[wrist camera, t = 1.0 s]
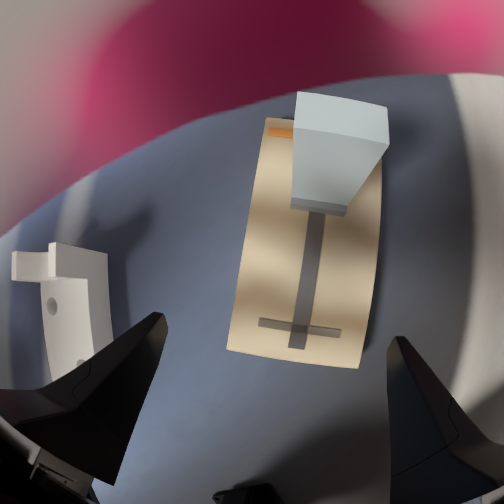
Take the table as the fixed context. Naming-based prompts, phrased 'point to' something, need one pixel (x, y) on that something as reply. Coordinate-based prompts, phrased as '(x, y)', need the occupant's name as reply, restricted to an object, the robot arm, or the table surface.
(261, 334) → the slider board
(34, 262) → the bracket
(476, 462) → the robot arm
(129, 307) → the table surface
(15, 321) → the table surface
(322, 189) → the fader tab
